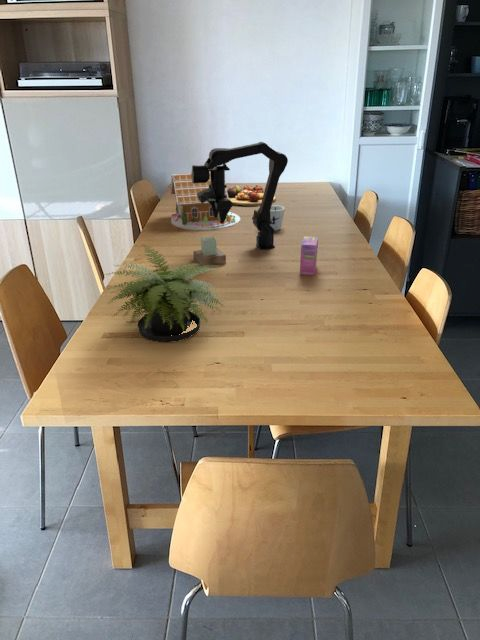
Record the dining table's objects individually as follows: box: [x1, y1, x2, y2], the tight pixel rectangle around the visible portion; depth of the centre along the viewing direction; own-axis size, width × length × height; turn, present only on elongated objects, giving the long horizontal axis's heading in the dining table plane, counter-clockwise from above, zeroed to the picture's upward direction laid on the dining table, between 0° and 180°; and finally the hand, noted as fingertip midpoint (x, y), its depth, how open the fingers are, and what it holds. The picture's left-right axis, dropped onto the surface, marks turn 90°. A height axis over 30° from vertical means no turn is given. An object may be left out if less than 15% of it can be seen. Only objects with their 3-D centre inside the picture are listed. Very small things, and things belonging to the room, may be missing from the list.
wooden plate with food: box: [227, 184, 277, 207], centre depth 300 cm, size 32×32×8 cm
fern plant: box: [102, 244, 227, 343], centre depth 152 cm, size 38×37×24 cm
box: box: [299, 235, 319, 276], centre depth 197 cm, size 10×6×12 cm, turn 168°
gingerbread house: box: [169, 171, 241, 231], centre depth 259 cm, size 35×35×24 cm
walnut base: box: [192, 247, 227, 268], centre depth 208 cm, size 10×10×4 cm
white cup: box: [270, 204, 286, 231], centre depth 249 cm, size 10×15×10 cm
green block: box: [200, 236, 217, 256], centre depth 206 cm, size 5×5×6 cm
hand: (218, 220), depth 215 cm, fingers open, 9 cm apart
